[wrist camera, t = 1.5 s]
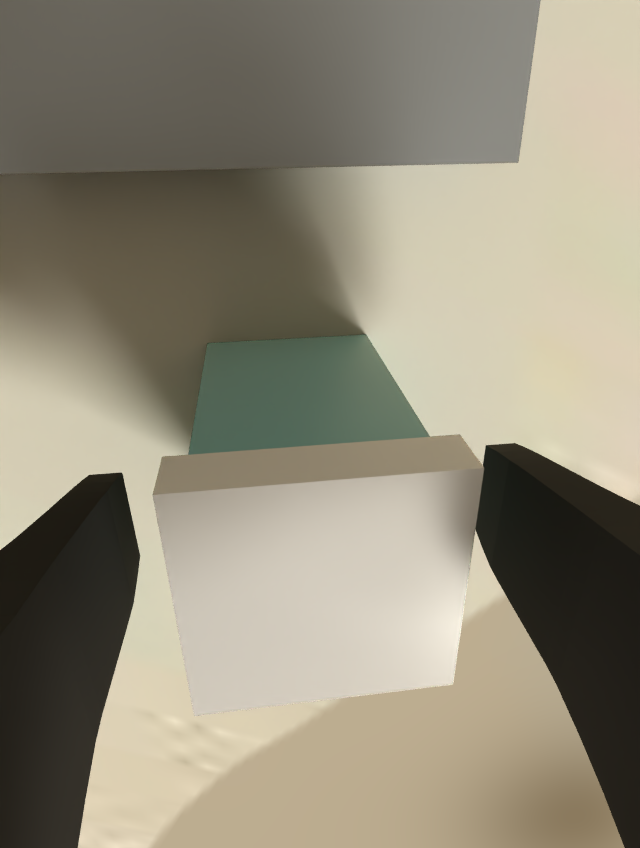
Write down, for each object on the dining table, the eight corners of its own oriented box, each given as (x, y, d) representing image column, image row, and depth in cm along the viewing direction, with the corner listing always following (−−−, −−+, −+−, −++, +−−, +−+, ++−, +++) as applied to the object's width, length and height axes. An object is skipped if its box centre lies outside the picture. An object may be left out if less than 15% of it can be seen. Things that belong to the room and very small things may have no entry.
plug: (213, 488, 16) (193, 716, 9) (193, 331, 14) (152, 495, 7) (372, 475, 16) (452, 684, 10) (377, 322, 14) (484, 467, 8)
